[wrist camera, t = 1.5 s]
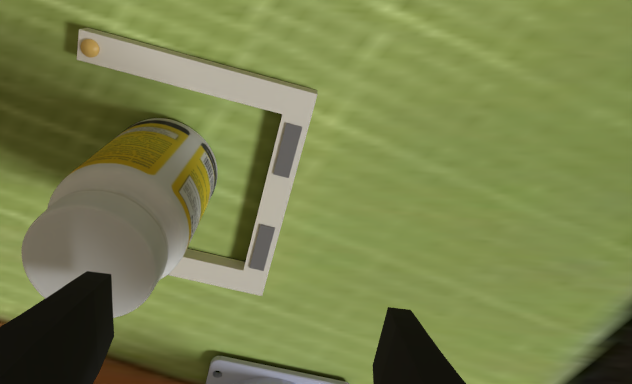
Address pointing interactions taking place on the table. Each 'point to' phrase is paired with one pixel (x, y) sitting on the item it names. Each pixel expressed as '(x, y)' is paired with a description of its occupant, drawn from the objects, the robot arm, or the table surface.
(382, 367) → the robot arm
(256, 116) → the table surface
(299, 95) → the dock
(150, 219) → the supplement bottle
